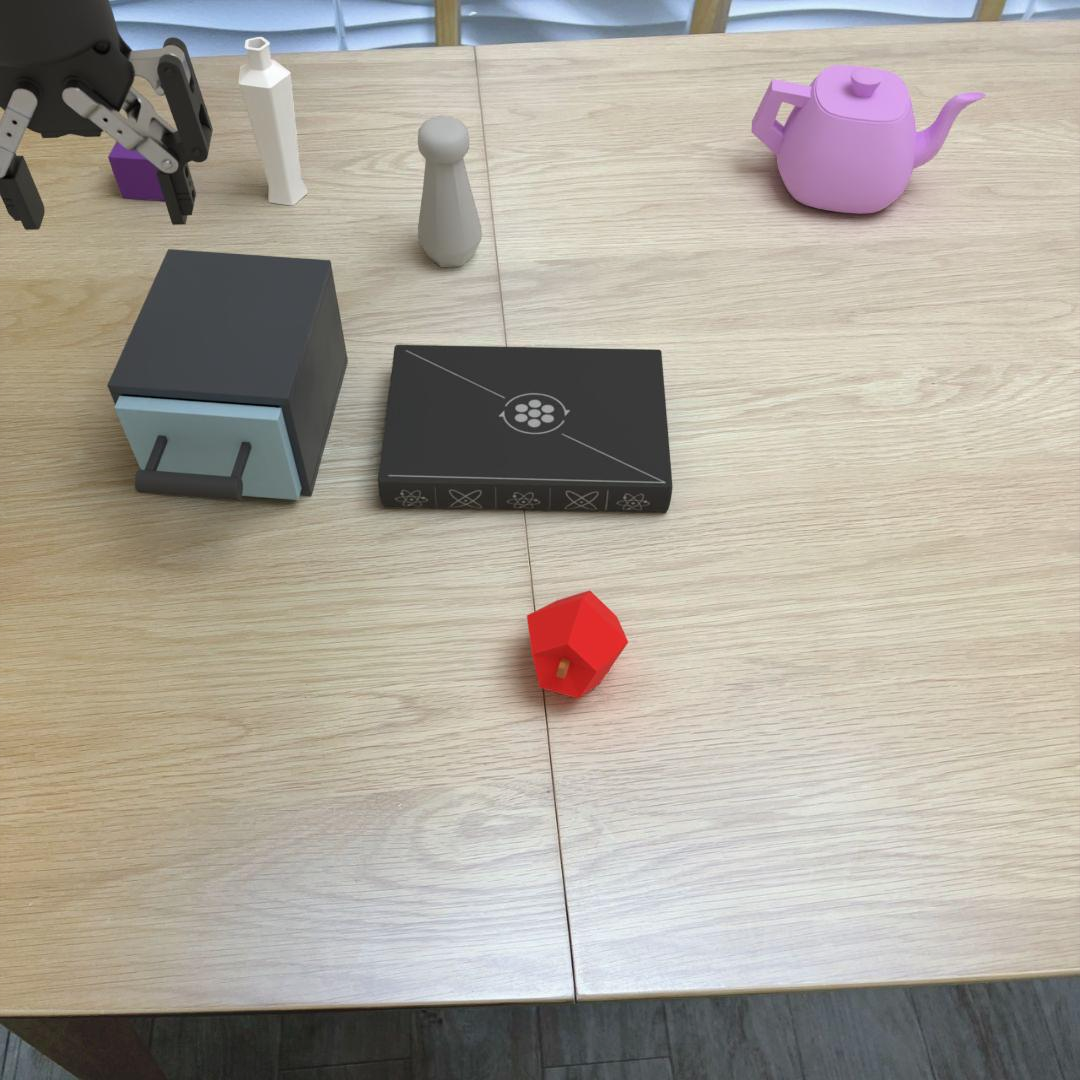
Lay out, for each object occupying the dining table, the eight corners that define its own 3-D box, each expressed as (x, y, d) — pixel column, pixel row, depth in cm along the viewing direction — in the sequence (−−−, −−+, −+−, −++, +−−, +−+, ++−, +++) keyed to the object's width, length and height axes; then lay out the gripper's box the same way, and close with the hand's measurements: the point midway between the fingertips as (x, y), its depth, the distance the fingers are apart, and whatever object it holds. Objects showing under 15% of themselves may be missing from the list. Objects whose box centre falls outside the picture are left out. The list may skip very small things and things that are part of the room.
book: (380, 511, 82) (376, 485, 80) (397, 370, 91) (394, 344, 89) (668, 516, 82) (673, 490, 80) (657, 375, 91) (661, 349, 89)
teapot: (950, 236, 103) (992, 130, 94) (737, 208, 105) (758, 102, 96) (946, 153, 110) (983, 48, 102) (748, 129, 112) (768, 24, 103)
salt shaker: (495, 248, 101) (492, 121, 90) (457, 282, 98) (450, 155, 87) (444, 225, 102) (436, 97, 92) (406, 257, 100) (393, 130, 89)
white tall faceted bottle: (252, 192, 105) (217, 42, 93) (290, 174, 107) (261, 24, 95) (279, 215, 103) (247, 64, 91) (317, 196, 105) (291, 46, 93)
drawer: (284, 552, 79) (260, 473, 72) (128, 540, 79) (90, 460, 72) (334, 372, 90) (318, 288, 82) (197, 362, 90) (170, 278, 83)
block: (121, 198, 104) (107, 156, 101) (136, 169, 107) (122, 128, 103) (168, 201, 104) (155, 160, 100) (181, 173, 107) (169, 131, 103)
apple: (556, 550, 74) (523, 616, 67) (648, 591, 73) (624, 662, 67) (525, 623, 78) (491, 693, 71) (613, 663, 77) (586, 737, 71)
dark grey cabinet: (311, 496, 83) (288, 398, 74) (148, 483, 83) (106, 385, 75) (348, 361, 92) (330, 259, 83) (200, 350, 92) (167, 248, 84)
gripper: (167, -102, 55) (235, 177, 68) (-126, -97, 54) (1, 184, 67) (145, -28, 50) (223, 256, 63) (-175, -22, 50) (-29, 264, 63)
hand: (108, 219), depth 65 cm, fingers open, 8 cm apart
